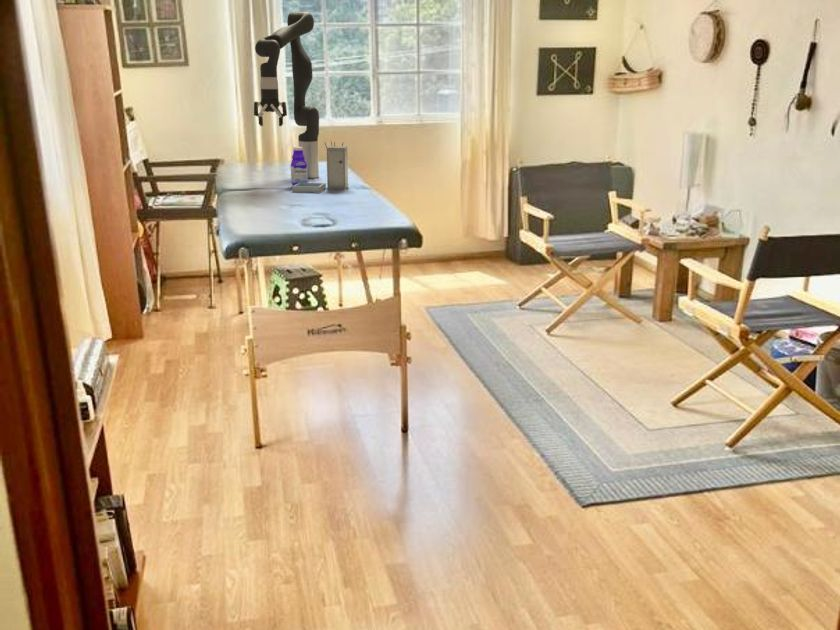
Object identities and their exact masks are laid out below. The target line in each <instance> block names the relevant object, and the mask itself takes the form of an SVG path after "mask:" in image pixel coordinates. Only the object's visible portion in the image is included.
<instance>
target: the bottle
mask: <svg viewBox="0 0 840 630" xmlns="http://www.w3.org/2000/svg"><path fill="white" fill-rule="evenodd" d="M304 158H305V156H304V154H303V147H299V146H294V147H293V153H292V156H291V159H292V160H291V161H290V178H291V180H290V181H291V185H292V186H294V185H296V184H297V183H309V178H308V174H307V163H306V161H305V159H304ZM292 186H291V187H292Z"/></svg>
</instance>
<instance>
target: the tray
mask: <svg viewBox="0 0 840 630" xmlns="http://www.w3.org/2000/svg"><path fill="white" fill-rule="evenodd" d="M326 187H327V182H308V183H297V184H296V185H294V186H291V188H292V192H291V193H304V192H321V191H322V192H324V191H325V190H327V188H326ZM324 189H325V190H324ZM322 192H321V193H322Z"/></svg>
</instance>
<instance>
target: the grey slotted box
mask: <svg viewBox="0 0 840 630" xmlns="http://www.w3.org/2000/svg"><path fill="white" fill-rule="evenodd" d="M348 167H349V166H348V146H336V145H335V146H334V145H330V146H327V148H326V172H327V173H326V176H327V178H326V179H327V181H326V187H327V190H343V189H346V188H347V187H348V188H349V177H348V176H349V174H348V172H349V169H348ZM348 188H347V189H348ZM347 189H346V190H347Z"/></svg>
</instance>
